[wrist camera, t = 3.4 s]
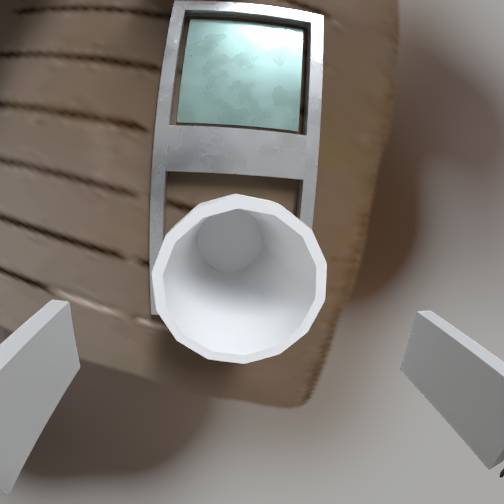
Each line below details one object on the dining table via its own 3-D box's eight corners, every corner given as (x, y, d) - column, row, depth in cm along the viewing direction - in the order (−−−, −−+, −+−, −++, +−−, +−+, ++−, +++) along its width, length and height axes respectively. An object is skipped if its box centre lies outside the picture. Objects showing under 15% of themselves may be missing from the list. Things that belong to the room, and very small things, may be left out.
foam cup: (159, 250, 28) (121, 304, 16) (218, 168, 27) (220, 159, 15) (241, 305, 31) (258, 386, 18) (300, 230, 30) (359, 268, 17)
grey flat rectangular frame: (153, 308, 30) (151, 314, 28) (175, 7, 23) (174, 0, 22) (297, 313, 31) (300, 318, 30) (319, 21, 25) (323, 15, 23)
